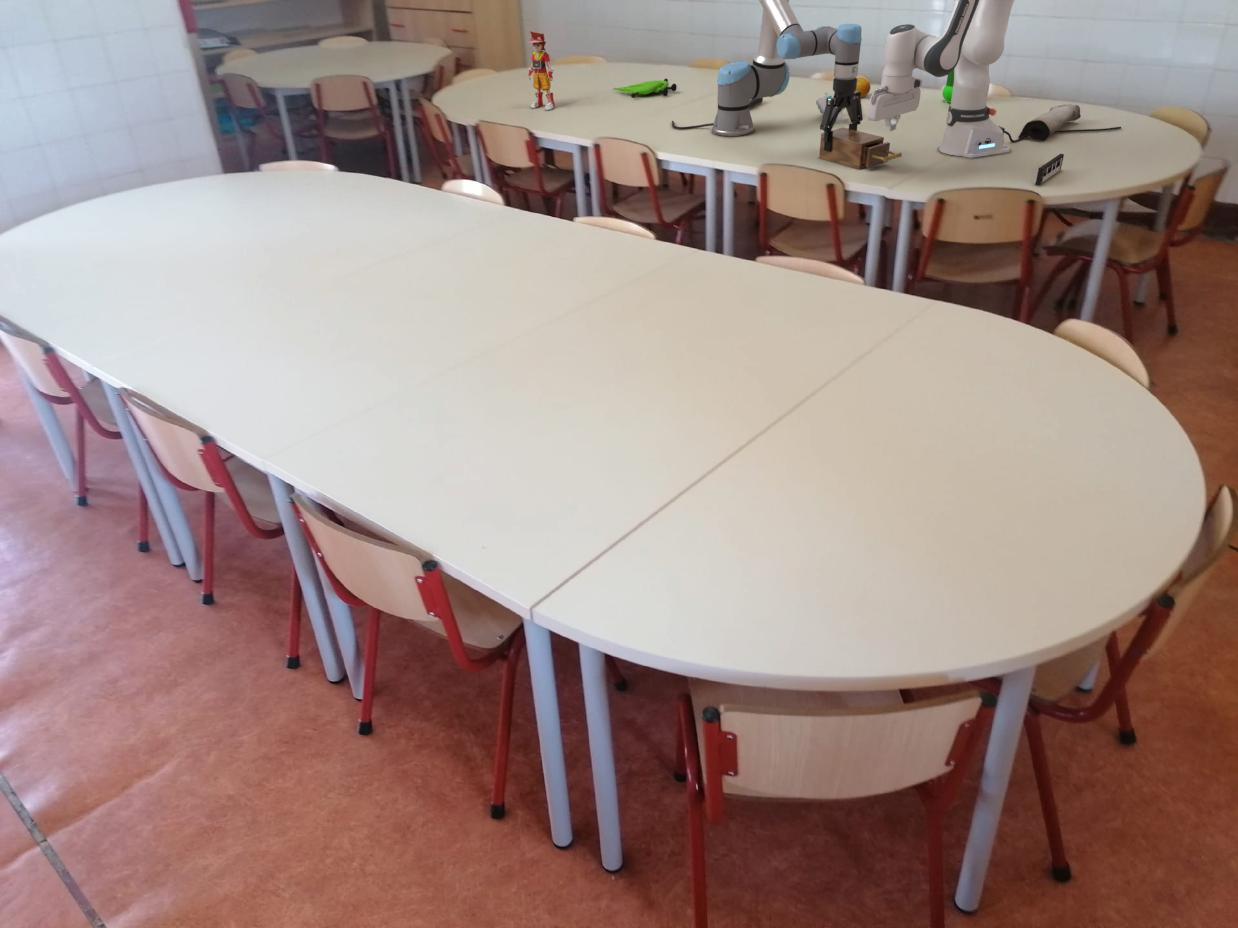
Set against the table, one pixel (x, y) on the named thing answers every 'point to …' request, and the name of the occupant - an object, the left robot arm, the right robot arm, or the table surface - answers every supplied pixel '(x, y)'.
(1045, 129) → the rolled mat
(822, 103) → the anatomical model
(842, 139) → the wooden box
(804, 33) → the left robot arm
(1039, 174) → the midi keyboard
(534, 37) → the toy
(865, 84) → the fruit
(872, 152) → the drawer
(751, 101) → the disk drive
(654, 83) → the toy
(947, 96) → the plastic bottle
